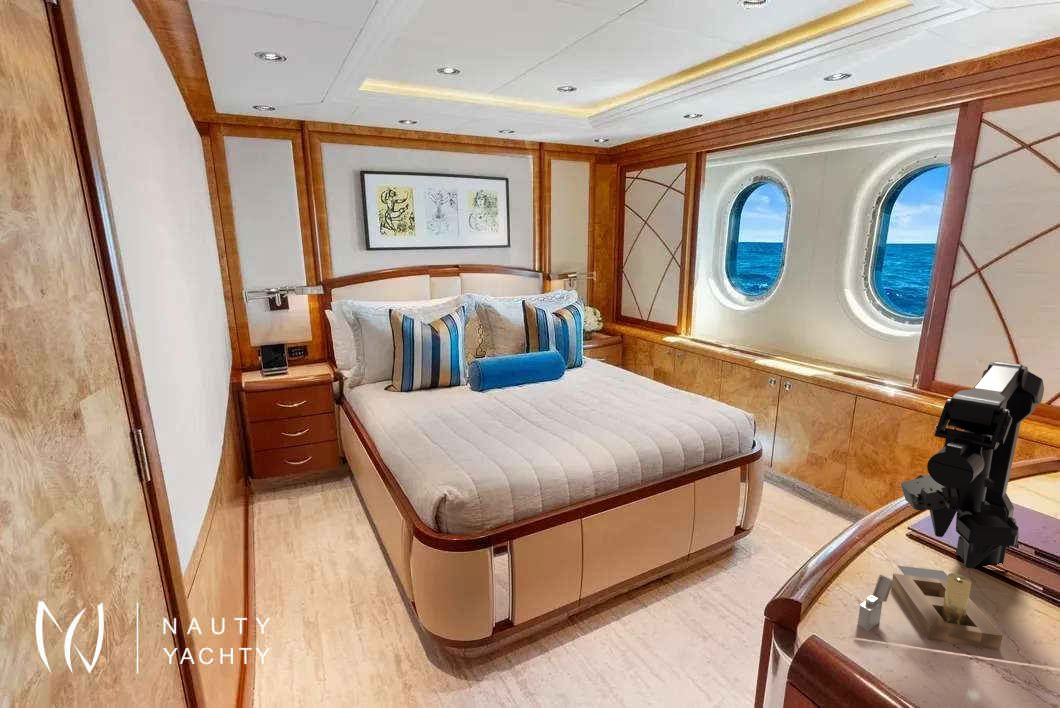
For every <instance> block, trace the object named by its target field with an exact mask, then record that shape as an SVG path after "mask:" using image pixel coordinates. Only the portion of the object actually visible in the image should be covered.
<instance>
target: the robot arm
mask: <svg viewBox="0 0 1060 708" xmlns="http://www.w3.org/2000/svg"><path fill="white" fill-rule="evenodd" d="M982 372H983V373H982V376H981V378H980V380H979V381H978V382H977V384H975V385H974V387H973V388H972V389H971V388H970V389H964V390H963V389H962V390H959V391H957V392H956V393H955V394H953V395H952V396H951V398H948V399H946V401H945V402H944V404H943V408H942V412H941V414H940V418H939V420H938V423H937V426H936V429H935V431H934V437H937V438H941V439H945V441H944V445H943V447H942V448H940V449H939V450H938V451H937V452H936V453H934V454H933V455H932V456H931V457H930V458H929V460H928V461H927V465H926V468H927V471H928V474H929V475H928V474H927V475H926V474H919V475H918V476H917V477H915V478H913V479H910V480H904V481H902V482H901V483H900V486H901V489H902V494H903V496H904V498H905V499H904V500H905V501H906V502H908V503H909V505H910V506H911V507H912V508H913V509H914V510H916V511H926V510H928V511H929V513H930V518H931V523H932V527H933V531H934V535H935V537H936V538H937V537H938V538H943V537H944V536H945V534H946V533H947V531H948V529H949V527H950V525H951V523H952V522H953V520H954V518H955V516H956V521H955V532H956V533H957V534H958V535H959V536H958V539H957V545H956V549H957V550H956V553H957V554H958V555H959V556H960V557H961V558H960V557H959V556H958V555H957V554H956V553H955V554H956V555H957V556H958V557H959V558H960V559H961V561H963V565H964V567H965V568H967V569H974V570H983V571H986V570H985V569H986V568H984V567H982V566H986V565H997V564H999V563H1002V564H1003V565H1004V561H1005V557H1006V551H1007V548H1008V549H1009V548H1011V547H1017V546H1018V542H1019V536H1020V532H1019V529H1020V528H1019V526H1018V525H1017V519H1016V518H1013V516H1014V511H1015V507H1014V505H1013V503H1012V501H1011V500H1010V497H1009V496H1008V494H1007V489H1008V484H1009V482H1010V481H1009V480H1010V476H1011V471H1012V465H1013V461H1014V456H1015V451H1016V446H1017V442H1018V437H1019V433H1020V427H1021V423H1022V422H1023V421H1024V420H1025V419H1026V418H1028V417H1029V416H1030V415H1031V414H1032V413H1033V412H1035V410H1036V407H1037V405H1041V403H1042V400H1043V396H1044V391H1045V386H1044V381H1043V378H1041V377H1039V376H1038V375H1036V374H1035V373H1032V372H1031V371H1029V369H1028V366H1025V365H1023V364H1020V363H1012V362H1004V361H995V362H993V361H991V362H989V364H988V367H987V369H985V370H983V371H982ZM947 426H948V427H947ZM954 428H955V429H954Z"/></svg>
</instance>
